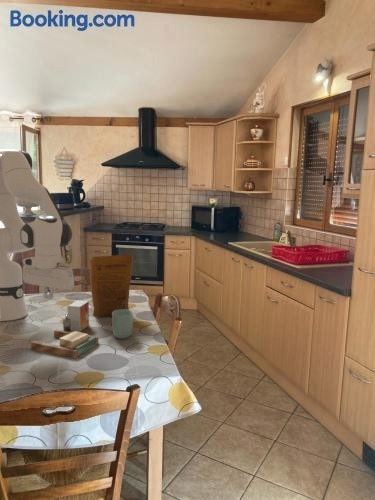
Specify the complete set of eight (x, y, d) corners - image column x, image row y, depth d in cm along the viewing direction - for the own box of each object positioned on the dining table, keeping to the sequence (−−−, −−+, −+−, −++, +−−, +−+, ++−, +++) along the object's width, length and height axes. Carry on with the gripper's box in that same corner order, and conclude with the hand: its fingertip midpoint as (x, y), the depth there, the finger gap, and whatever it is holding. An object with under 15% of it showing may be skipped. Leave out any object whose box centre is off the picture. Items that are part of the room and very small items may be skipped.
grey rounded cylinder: (61, 334, 154) (61, 315, 152) (66, 332, 156) (65, 313, 155) (67, 336, 153) (67, 316, 151) (72, 333, 155) (72, 314, 154)
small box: (80, 332, 157) (80, 306, 155) (67, 330, 158) (67, 305, 156) (89, 325, 165) (89, 301, 163) (77, 324, 166) (76, 300, 164)
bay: (30, 348, 140) (30, 340, 140) (56, 335, 153) (56, 327, 153) (75, 358, 134) (75, 349, 133) (98, 343, 147) (98, 335, 146)
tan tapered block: (59, 351, 139) (59, 338, 138) (75, 343, 146) (75, 331, 145) (72, 355, 137) (72, 341, 136) (88, 347, 144) (88, 334, 143)
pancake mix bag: (133, 316, 177) (133, 255, 172) (90, 319, 172) (89, 256, 167) (131, 311, 183) (132, 252, 179) (89, 314, 178) (88, 253, 174)
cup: (113, 341, 149) (113, 316, 147) (111, 333, 156) (111, 309, 154) (133, 339, 151) (133, 314, 149) (131, 332, 158) (131, 308, 156)
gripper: (77, 263, 140) (77, 300, 143) (31, 256, 147) (32, 291, 150) (66, 266, 134) (66, 305, 137) (19, 259, 141) (20, 296, 144)
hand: (48, 298), depth 143 cm, fingers closed
